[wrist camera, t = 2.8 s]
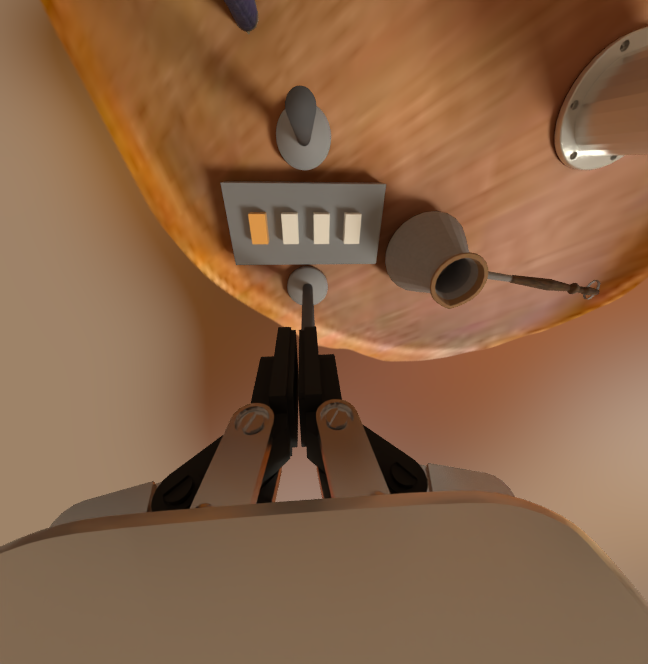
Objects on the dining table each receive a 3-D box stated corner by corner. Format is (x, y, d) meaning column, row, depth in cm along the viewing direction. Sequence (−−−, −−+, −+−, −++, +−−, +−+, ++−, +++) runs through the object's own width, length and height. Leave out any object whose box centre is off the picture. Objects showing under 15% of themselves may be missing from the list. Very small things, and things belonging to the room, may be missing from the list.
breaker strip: (380, 182, 33) (389, 185, 30) (371, 257, 39) (378, 267, 35) (226, 180, 32) (216, 183, 29) (240, 258, 38) (233, 268, 34)
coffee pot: (374, 282, 42) (403, 334, 29) (388, 205, 35) (433, 229, 23) (496, 286, 43) (572, 336, 31) (530, 213, 37) (644, 240, 24)
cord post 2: (327, 265, 39) (344, 348, 22) (326, 302, 43) (340, 398, 25) (286, 266, 39) (270, 350, 22) (289, 302, 43) (277, 401, 25)
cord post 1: (330, 103, 29) (369, 14, 11) (329, 170, 32) (357, 180, 15) (274, 102, 28) (223, 7, 11) (279, 169, 32) (247, 179, 14)
